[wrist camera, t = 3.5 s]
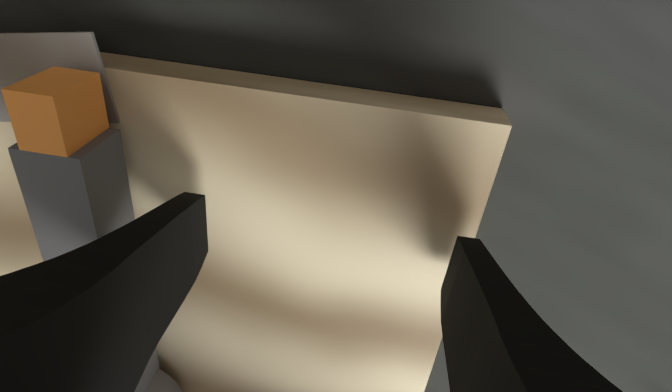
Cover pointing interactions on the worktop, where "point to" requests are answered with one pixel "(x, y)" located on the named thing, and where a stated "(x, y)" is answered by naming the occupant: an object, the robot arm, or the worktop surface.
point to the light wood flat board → (284, 213)
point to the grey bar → (72, 170)
